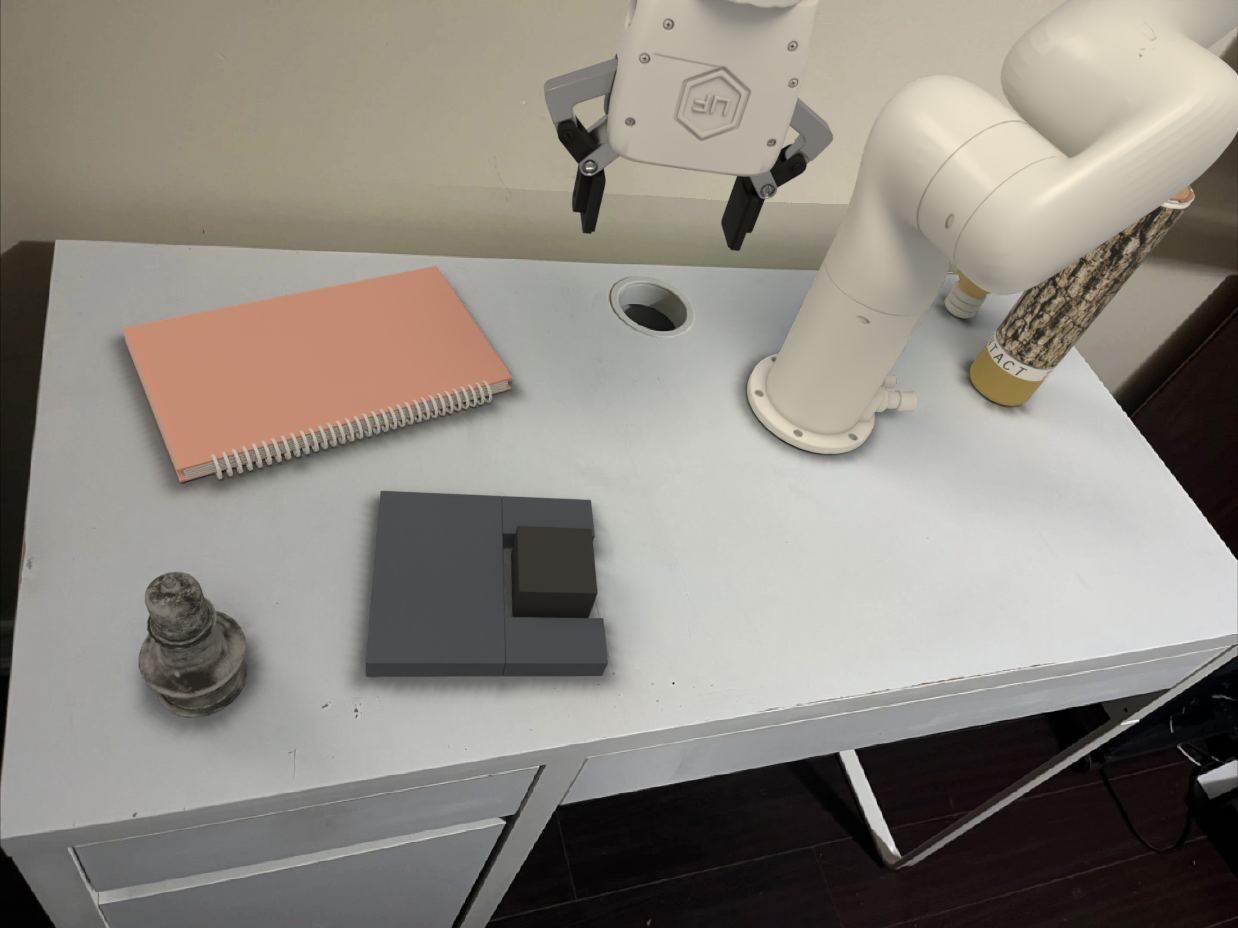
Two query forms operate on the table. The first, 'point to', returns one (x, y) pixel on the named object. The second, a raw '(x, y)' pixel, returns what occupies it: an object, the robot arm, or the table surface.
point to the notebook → (310, 369)
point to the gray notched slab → (468, 591)
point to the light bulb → (965, 298)
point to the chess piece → (190, 648)
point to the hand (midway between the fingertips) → (659, 229)
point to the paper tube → (1065, 309)
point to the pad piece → (553, 572)
